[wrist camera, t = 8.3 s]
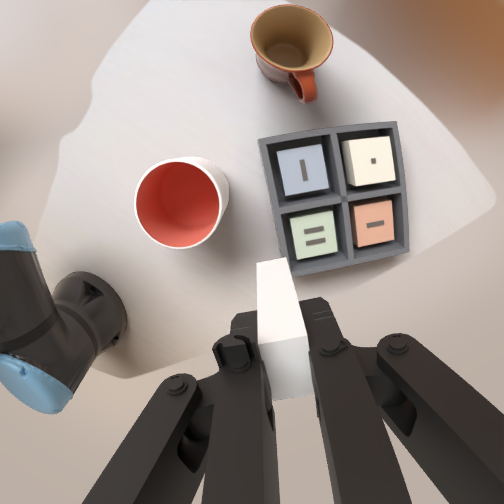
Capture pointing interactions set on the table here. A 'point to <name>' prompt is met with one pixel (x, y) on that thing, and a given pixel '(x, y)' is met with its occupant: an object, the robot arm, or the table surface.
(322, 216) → the sage key
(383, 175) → the cream key
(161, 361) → the table surface
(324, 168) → the slate key
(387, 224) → the terracotta key
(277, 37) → the mug
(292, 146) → the grey compartment tray
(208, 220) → the cup
